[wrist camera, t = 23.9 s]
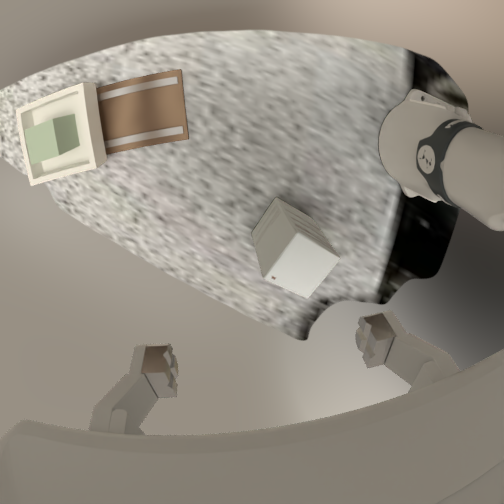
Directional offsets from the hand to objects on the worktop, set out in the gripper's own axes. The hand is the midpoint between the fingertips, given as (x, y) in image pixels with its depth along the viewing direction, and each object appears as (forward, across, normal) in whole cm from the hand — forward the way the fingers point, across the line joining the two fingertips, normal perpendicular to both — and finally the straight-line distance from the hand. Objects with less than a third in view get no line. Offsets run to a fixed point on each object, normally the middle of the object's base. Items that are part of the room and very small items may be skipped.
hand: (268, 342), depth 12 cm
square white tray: (+32, +22, -9) cm, 39 cm away
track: (+33, +16, -9) cm, 38 cm away
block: (+28, +22, -9) cm, 37 cm away
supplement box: (+33, -7, +11) cm, 36 cm away
